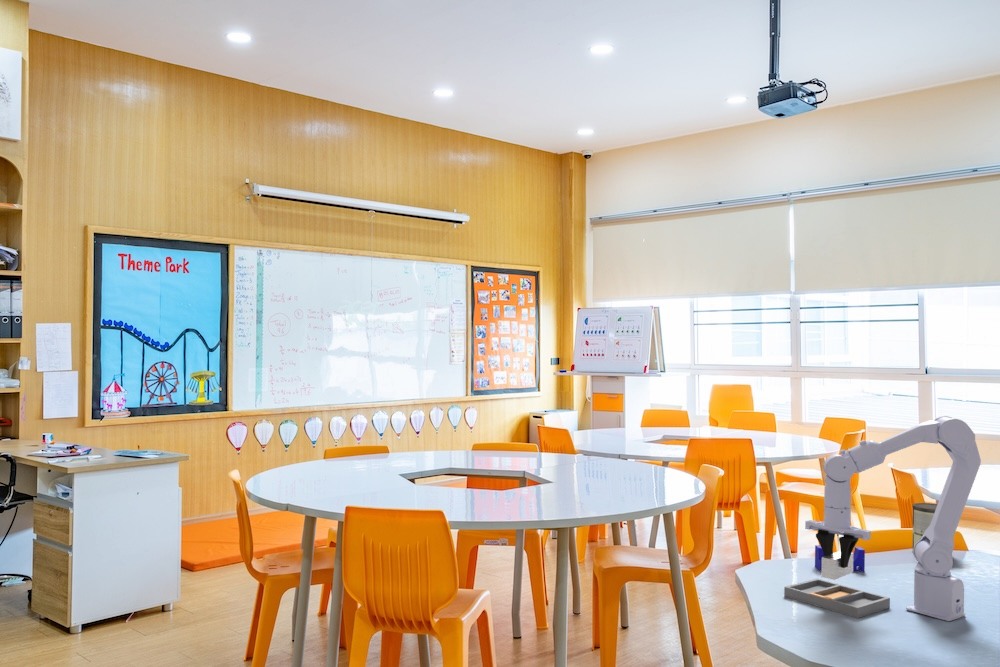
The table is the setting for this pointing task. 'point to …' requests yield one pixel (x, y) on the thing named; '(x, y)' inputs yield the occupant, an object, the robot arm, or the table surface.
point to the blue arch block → (857, 558)
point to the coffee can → (921, 519)
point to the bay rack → (837, 597)
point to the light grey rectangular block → (835, 566)
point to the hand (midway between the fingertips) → (836, 565)
